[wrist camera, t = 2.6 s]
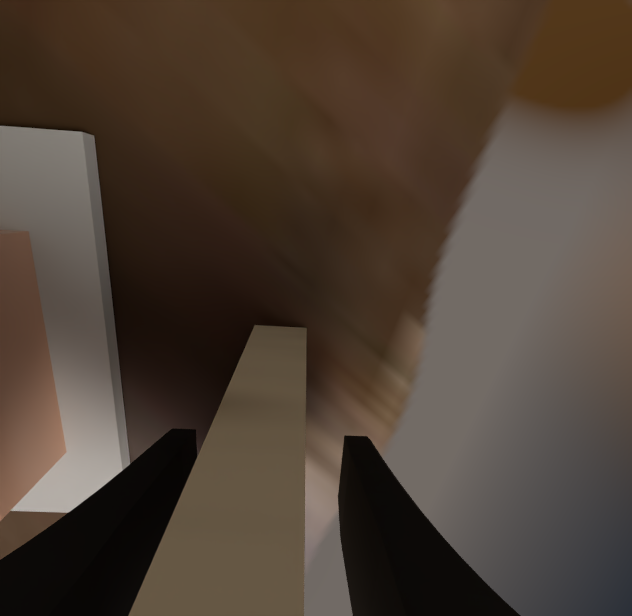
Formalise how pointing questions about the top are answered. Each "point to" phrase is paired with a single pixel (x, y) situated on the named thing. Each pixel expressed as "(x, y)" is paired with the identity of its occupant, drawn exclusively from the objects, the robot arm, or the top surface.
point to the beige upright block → (242, 497)
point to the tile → (24, 377)
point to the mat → (69, 304)
